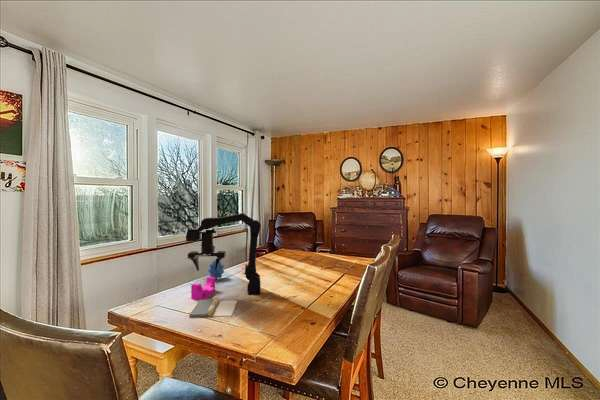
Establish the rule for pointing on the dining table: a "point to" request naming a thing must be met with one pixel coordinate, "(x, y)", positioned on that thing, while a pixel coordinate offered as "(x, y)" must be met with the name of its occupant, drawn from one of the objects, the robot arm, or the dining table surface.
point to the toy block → (203, 289)
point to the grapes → (218, 272)
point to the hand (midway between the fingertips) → (207, 270)
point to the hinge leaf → (204, 307)
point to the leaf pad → (225, 308)
